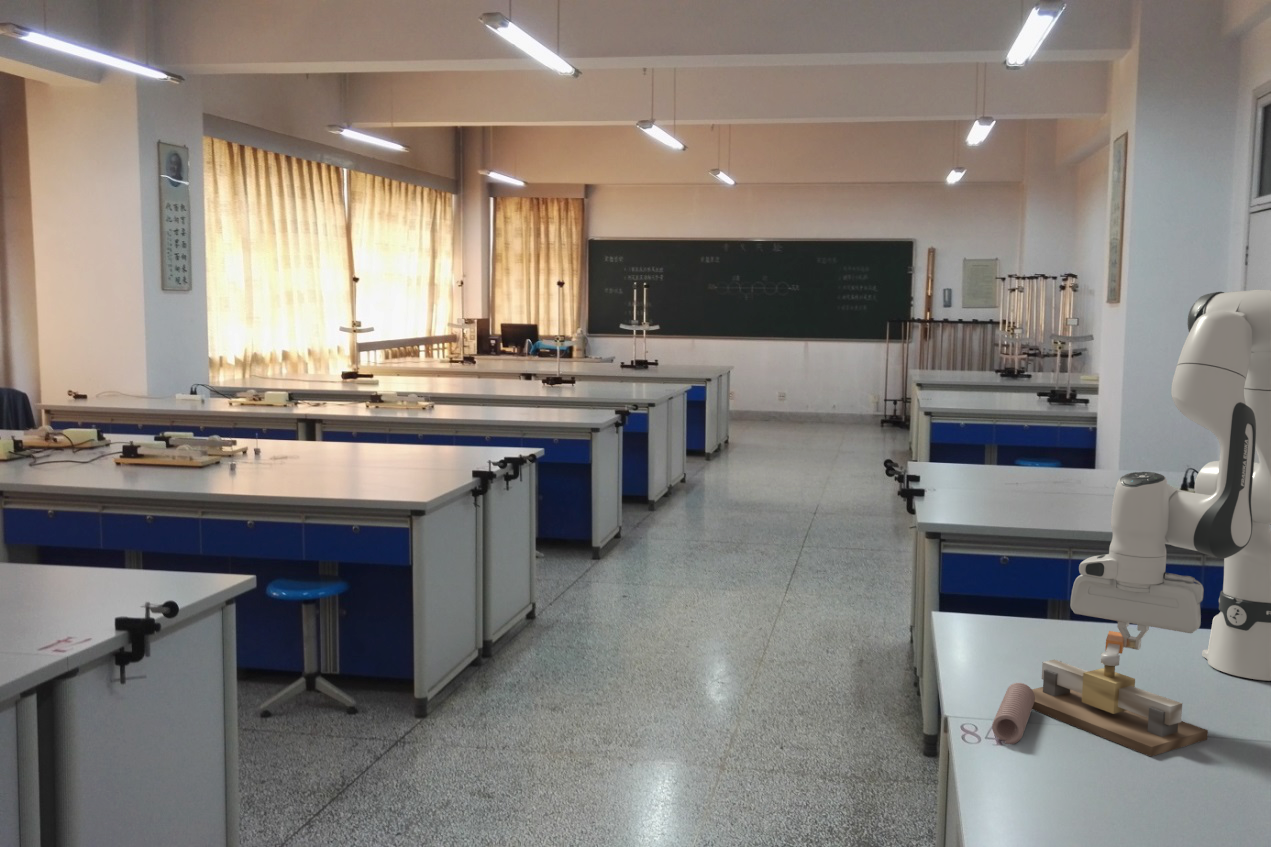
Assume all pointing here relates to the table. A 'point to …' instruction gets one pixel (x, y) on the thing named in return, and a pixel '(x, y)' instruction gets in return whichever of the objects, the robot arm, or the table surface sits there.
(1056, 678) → the valve stand
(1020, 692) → the coil
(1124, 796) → the table surface
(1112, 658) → the valve lever
